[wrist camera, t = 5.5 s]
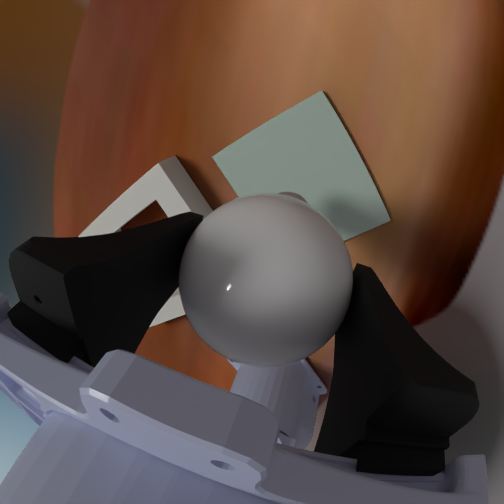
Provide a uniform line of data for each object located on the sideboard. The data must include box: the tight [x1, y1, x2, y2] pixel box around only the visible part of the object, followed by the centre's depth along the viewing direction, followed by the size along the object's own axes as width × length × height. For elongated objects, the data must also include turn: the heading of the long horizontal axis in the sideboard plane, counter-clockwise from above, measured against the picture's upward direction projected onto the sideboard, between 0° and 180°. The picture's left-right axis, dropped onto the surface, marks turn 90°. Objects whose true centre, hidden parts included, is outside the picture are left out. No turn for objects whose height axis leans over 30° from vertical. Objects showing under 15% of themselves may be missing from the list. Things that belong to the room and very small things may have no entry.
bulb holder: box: [78, 156, 213, 327], centre depth 26 cm, size 12×14×2 cm
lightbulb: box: [179, 191, 353, 368], centre depth 13 cm, size 6×6×11 cm
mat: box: [212, 91, 391, 241], centre depth 20 cm, size 10×9×1 cm
